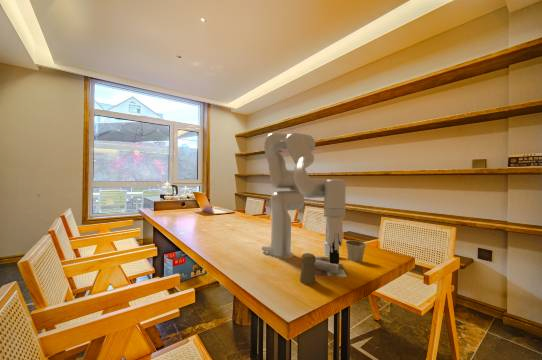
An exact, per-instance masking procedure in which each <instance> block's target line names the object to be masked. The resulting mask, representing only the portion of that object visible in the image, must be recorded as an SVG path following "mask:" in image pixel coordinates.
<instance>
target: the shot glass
mask: <svg viewBox="0 0 542 360" xmlns="http://www.w3.org/2000/svg"><path fill="white" fill-rule="evenodd" d="M322 246H323V255H324V256H325V257H330V246H329V245H328V244H327V242H326V240H325V241H323V244H322Z"/></svg>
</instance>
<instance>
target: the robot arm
mask: <svg viewBox="0 0 542 360" xmlns="http://www.w3.org/2000/svg"><path fill="white" fill-rule="evenodd" d="M315 148H316V141H315V138H314V137H313V136H312V135H310V134H306V133H299V132H291V133H289V134H288V133H282V132H272V133H268V135H267V136H266V138H265V139H264V153H265V158H266V160H267V163H268V172H269V179H270V184H271V187H273V188H274V189H278V190H279V191H274V192H273V193H272V194H271V196H270V199H269V201H270V210H271V237H270V239H271V241H270V246H269V245H268V246H261V250H262V251H263V252H267V255H268V256H269V257H271V258H274V259H289V258H292V257H294V253H293V252H292V251H291V250H292V249H291V247H292V246H291V245H292V244H291V242H292V219H291V215H290V214H289V212H290V211H298V210H301V209H302V208H303V207H304V205H305V198H307V199H316V198H319V199H322V198H323V214H324V215H323V217H324V218H326V219H325V241H326V242H327V244H328V245H329V246H330V256H329V257H330V263H331V264H340V247H341V246H342V245H343V230H344V229H343V223H344V222H343V219H344V218H346V181H345V180H344V179H341V178H315V177H314V178H311V177H310V176H309V175H308V173H307V171H306V169H307V168H308V167H310V166H311V165H312V164H313V163H314V161H315V156H314V153H313V151H314V150H315ZM281 152H288V153H289V154H290V157H291V159H292V160H293V162H294V164H295V167H294V169H293V170H291V169H287V166H286V161H285V158H284V156H283V155H282V153H281ZM280 189H281V190H280ZM288 211H289V212H288Z"/></svg>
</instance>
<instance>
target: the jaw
mask: <svg viewBox="0 0 542 360" xmlns="http://www.w3.org/2000/svg"><path fill="white" fill-rule="evenodd" d="M314 268H316V269H319V270H323V271H327V272H330V273H334V274H337V273H338V264H331V263H330V262H326V261H322V260H318V259H316V261H315V263H314Z"/></svg>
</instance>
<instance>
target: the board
mask: <svg viewBox="0 0 542 360" xmlns="http://www.w3.org/2000/svg"><path fill="white" fill-rule="evenodd" d="M314 256H315V255H314ZM315 258H316V259H318V260H322V261H326V262H330V256H317V255H316V256H315ZM314 270H315V276H322V277H323V276H325V277H336V278H349V276H348V274H347V272H346V269H345V268H344V266H343V263H339V264H338V273H337V274H334V273H330V272H327V271H323V270H319V269H316V268H314Z"/></svg>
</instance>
